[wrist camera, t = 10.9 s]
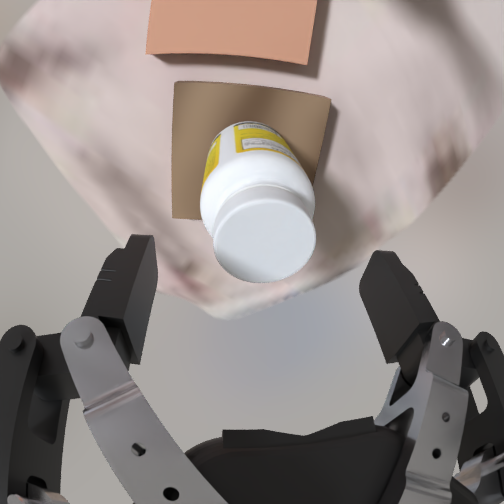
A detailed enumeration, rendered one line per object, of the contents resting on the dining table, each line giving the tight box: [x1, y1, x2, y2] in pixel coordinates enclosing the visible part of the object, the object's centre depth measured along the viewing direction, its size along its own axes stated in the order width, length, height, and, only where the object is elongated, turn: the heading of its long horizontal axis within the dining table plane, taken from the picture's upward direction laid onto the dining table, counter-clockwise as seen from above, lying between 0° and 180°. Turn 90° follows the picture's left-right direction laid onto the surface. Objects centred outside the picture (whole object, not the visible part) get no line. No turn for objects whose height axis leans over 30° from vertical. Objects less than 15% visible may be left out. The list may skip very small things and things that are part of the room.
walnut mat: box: [172, 81, 331, 220], centre depth 19 cm, size 10×10×2 cm
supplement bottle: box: [200, 121, 316, 283], centre depth 15 cm, size 5×5×10 cm
